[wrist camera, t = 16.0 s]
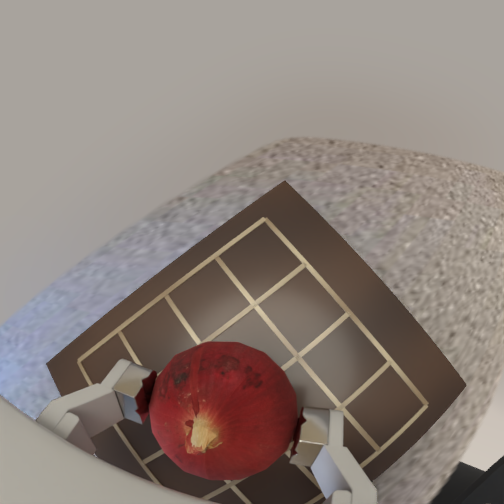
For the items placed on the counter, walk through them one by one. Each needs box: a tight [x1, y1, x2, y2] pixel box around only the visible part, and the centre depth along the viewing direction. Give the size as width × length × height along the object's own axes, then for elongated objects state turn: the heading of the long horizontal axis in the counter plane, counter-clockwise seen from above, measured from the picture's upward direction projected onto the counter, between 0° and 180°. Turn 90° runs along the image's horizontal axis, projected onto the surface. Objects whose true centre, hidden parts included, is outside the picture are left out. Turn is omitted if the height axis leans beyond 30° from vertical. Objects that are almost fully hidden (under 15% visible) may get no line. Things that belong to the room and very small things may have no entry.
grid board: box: [46, 181, 467, 504], centre depth 17 cm, size 19×22×2 cm
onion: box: [149, 341, 298, 480], centre depth 11 cm, size 6×6×8 cm
